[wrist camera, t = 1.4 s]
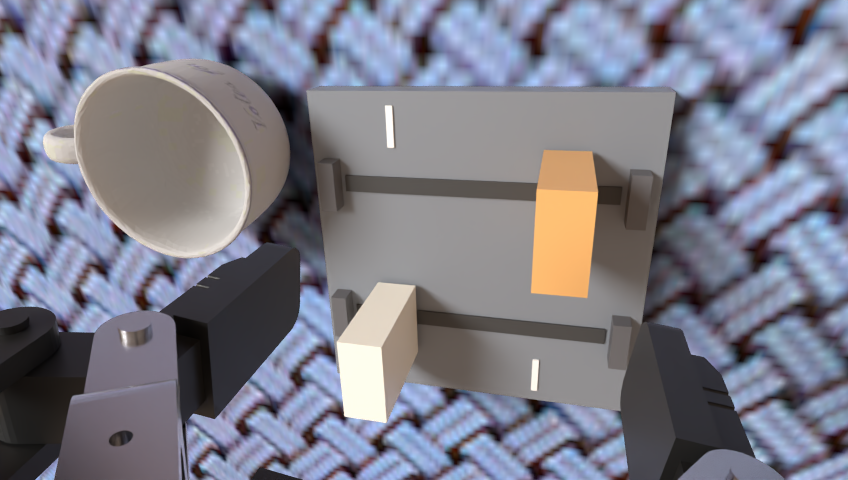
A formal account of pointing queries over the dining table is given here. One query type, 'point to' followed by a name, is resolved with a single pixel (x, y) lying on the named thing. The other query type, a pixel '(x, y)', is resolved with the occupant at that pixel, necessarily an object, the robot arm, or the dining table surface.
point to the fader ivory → (378, 351)
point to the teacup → (177, 153)
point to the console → (490, 226)
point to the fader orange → (564, 223)
